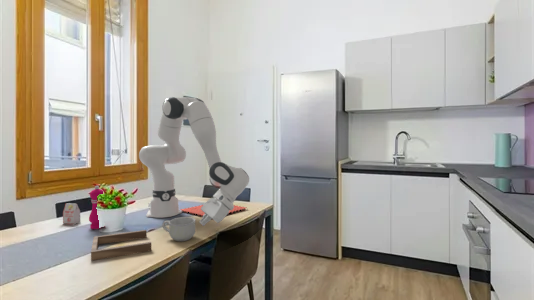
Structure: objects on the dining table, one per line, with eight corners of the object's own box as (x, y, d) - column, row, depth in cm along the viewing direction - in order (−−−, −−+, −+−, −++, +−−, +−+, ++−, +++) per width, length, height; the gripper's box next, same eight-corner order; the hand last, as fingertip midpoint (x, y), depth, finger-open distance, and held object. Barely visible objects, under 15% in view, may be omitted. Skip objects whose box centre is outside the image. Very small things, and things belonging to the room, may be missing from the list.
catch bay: (93, 244, 120) (93, 236, 120) (146, 236, 129) (146, 229, 129) (91, 260, 104) (90, 252, 103) (151, 250, 112) (151, 242, 112)
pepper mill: (98, 229, 140) (97, 187, 139) (85, 229, 141) (84, 186, 141) (109, 225, 147) (109, 184, 146) (97, 224, 148) (96, 184, 148)
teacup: (200, 236, 129) (200, 217, 129) (185, 244, 119) (185, 224, 119) (173, 233, 134) (172, 215, 134) (156, 241, 124) (156, 221, 123)
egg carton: (216, 204, 196) (216, 201, 196) (247, 210, 178) (247, 207, 178) (179, 213, 175) (179, 209, 175) (210, 220, 157) (210, 216, 157)
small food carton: (69, 221, 155) (68, 202, 154) (80, 222, 153) (79, 203, 153) (63, 223, 151) (62, 204, 151) (74, 224, 149) (73, 204, 149)
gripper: (210, 191, 143) (190, 214, 139) (225, 199, 125) (202, 225, 121) (219, 200, 145) (200, 222, 141) (235, 208, 127) (213, 234, 123)
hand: (201, 224), depth 131 cm, fingers closed
